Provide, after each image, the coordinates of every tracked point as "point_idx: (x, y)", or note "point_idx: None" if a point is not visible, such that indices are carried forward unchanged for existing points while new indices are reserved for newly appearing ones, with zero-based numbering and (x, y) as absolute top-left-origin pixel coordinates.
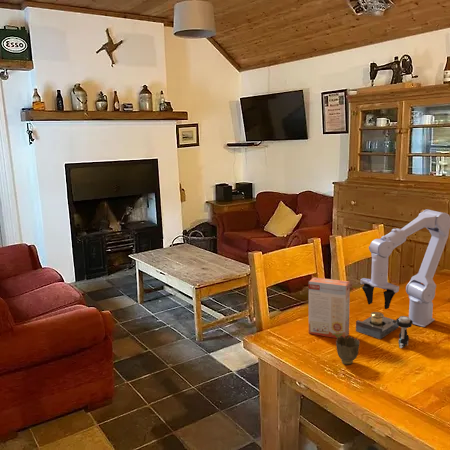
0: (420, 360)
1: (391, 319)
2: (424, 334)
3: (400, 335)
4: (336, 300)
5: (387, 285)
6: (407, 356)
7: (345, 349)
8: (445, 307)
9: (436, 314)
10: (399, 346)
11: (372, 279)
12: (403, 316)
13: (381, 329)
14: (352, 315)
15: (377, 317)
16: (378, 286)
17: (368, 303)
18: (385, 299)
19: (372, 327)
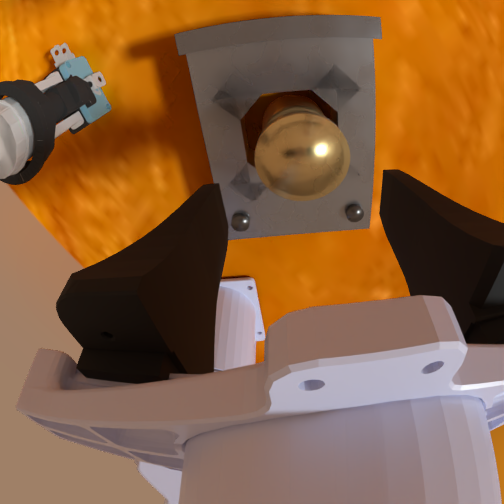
0: None
1: (267, 230)
2: (123, 237)
3: (64, 83)
4: None
5: (165, 442)
6: (19, 31)
7: None
8: None
9: None
10: (83, 58)
11: (476, 501)
12: (10, 160)
13: (179, 45)
14: (462, 182)
15: (272, 121)
16: (253, 383)
17: (395, 170)
18: (174, 233)
19: (240, 21)
